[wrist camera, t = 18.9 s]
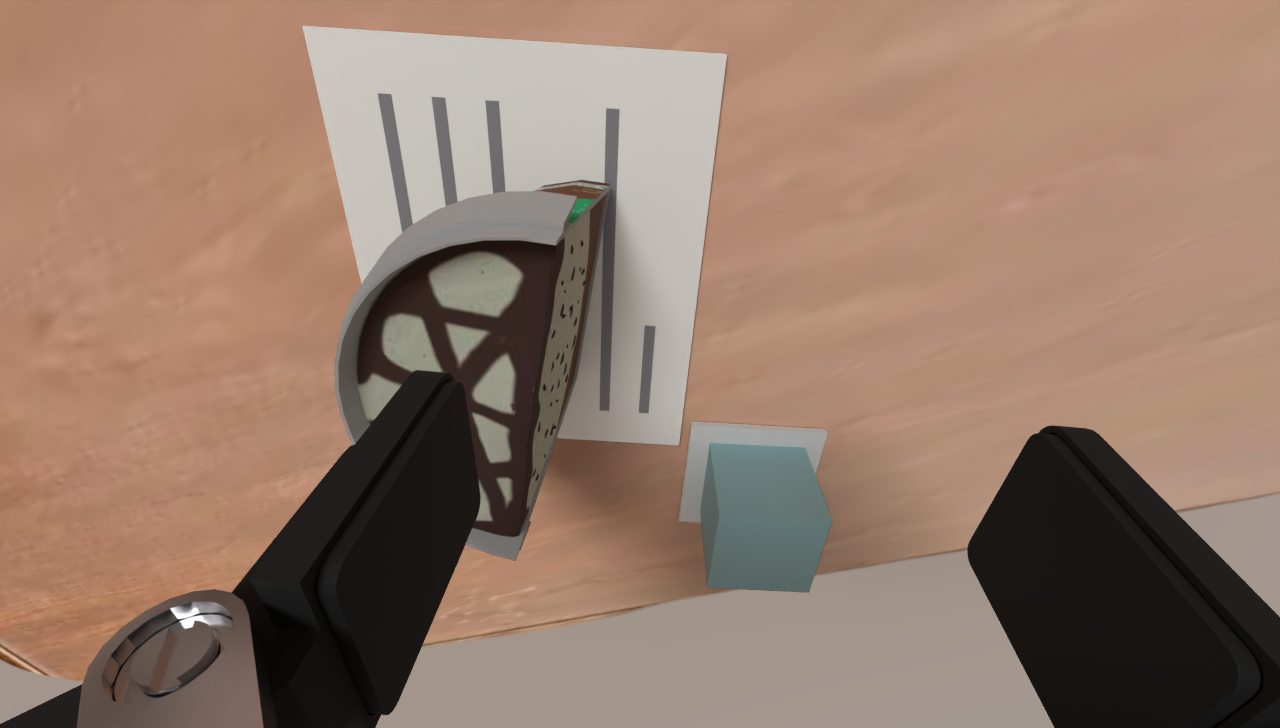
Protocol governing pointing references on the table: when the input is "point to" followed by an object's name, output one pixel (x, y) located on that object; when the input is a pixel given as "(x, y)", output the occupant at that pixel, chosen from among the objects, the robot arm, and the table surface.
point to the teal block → (762, 518)
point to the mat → (737, 434)
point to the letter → (544, 180)
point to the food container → (483, 332)
